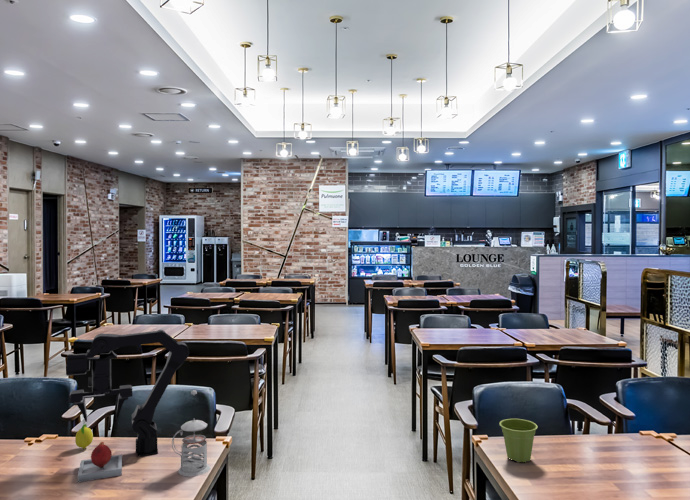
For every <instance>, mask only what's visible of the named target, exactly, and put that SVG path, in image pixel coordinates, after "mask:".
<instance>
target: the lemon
mask: <svg viewBox="0 0 690 500" xmlns="http://www.w3.org/2000/svg"><path fill="white" fill-rule="evenodd" d="M93 440H94V434H93V430H92V429H91V428H90V427H88V426H87V423H84V424H83V425H82V426H81V428H79V429H78V431H77V432H76V434H75V442H74V443H75V445H76V447H78V448H82V449H84V450H85V449H86V448H87V447H89V446H90V445H91V444H92V443H93Z"/></svg>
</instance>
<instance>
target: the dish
mask: <svg viewBox="0 0 690 500" xmlns="http://www.w3.org/2000/svg"><path fill="white" fill-rule="evenodd" d="M122 475H123V454H114V455H112V456H111V459H110V461H109V462H108V463H107V464H106V465H105V466H104V467H102V468H100V467H98V466H96V465H94V464H93V463H92V461H91V458H88V459H82V460H80V462H79V469H78V472H77V483H82V482H87V481H93V480H94V481H95V480H101V479H106V478H112V477H117V476H122Z"/></svg>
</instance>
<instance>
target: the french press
mask: <svg viewBox="0 0 690 500" xmlns="http://www.w3.org/2000/svg"><path fill="white" fill-rule="evenodd" d="M197 394H198V392H197V390H196V389H193V390H192V389H191V391H190V395H197ZM207 427H208V423H206V422H205V421H203V420H200V419H192V420H189V421H186V422H185V423H183V424H182V425H180V430H177V431H176V432H175V434H173V437H172V439H171V448H172V450H173V451H174V453H175V454H177V455H178V456H179V457H180V468H178V471H177V473H178V474H179V475H180V476H184V477H198V476H201V475H203V474H206V473H208V472H209V471H210V470H211V466H210V465H209V464H208V441H207V440H206V439H207V437H206V436H205V435H203V434H196V433H195V432H199V431H203V430H205V429H206V428H207ZM183 431H184V432H193V434H191V435H187V436H185V437H183V438H182V443H181V446H180V447H181V449H180V450H181V451H180V450H178V449H177V448H176V446H175V438H176V436H177V434H180V436H183V435H184V432H183Z"/></svg>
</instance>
